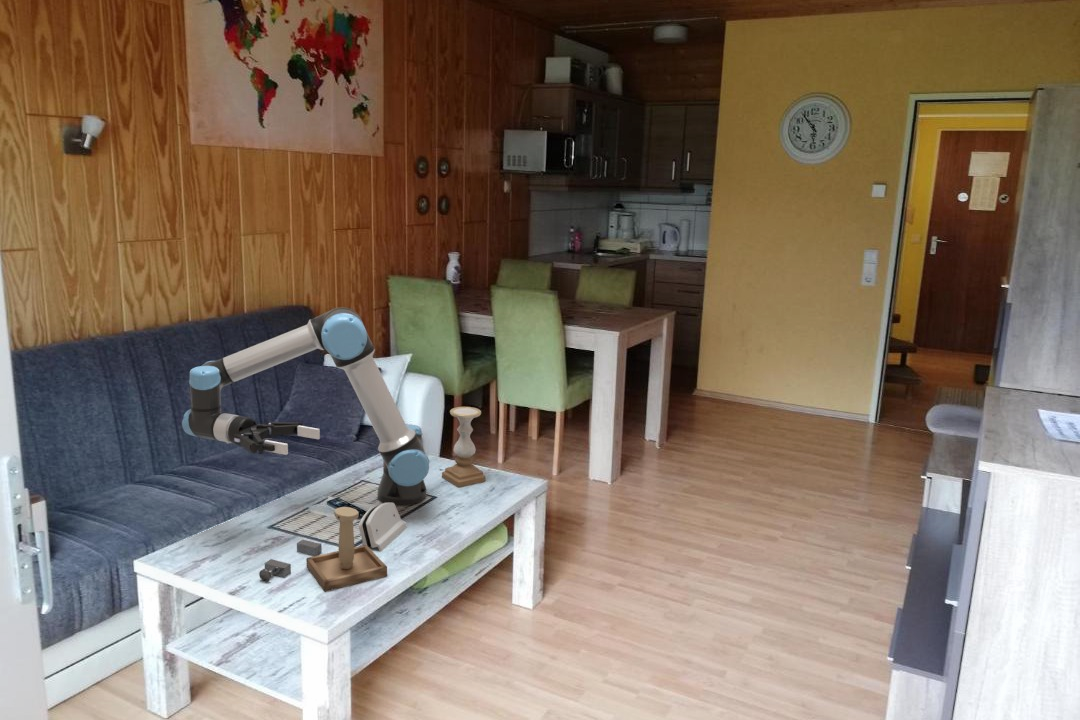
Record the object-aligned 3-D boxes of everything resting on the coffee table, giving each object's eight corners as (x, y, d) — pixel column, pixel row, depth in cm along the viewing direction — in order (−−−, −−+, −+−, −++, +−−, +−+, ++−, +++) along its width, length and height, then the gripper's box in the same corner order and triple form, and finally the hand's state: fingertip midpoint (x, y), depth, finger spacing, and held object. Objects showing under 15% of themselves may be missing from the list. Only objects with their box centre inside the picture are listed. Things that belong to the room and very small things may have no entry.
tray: (366, 553, 211) (366, 544, 211) (387, 576, 200) (387, 566, 200) (306, 567, 203) (306, 558, 202) (324, 591, 191) (324, 582, 191)
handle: (347, 574, 197) (347, 518, 194) (330, 566, 201) (330, 510, 198) (362, 567, 201) (362, 512, 198) (345, 559, 205) (345, 505, 202)
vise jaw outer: (271, 568, 201) (271, 556, 201) (290, 573, 199) (290, 561, 199) (254, 578, 196) (254, 567, 195) (274, 584, 194) (273, 572, 193)
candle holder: (441, 477, 267) (442, 408, 261) (468, 471, 273) (470, 404, 268) (458, 488, 258) (460, 417, 253) (486, 481, 265) (488, 412, 260)
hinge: (380, 552, 213) (369, 517, 211) (365, 554, 214) (354, 520, 213) (407, 527, 228) (397, 494, 227) (393, 529, 230) (382, 497, 229)
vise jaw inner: (302, 548, 213) (302, 539, 212) (321, 552, 211) (321, 544, 210) (296, 551, 210) (296, 543, 210) (315, 556, 208) (315, 547, 208)
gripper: (267, 430, 225) (331, 441, 218) (203, 457, 202) (272, 470, 195) (266, 404, 223) (331, 415, 217) (201, 429, 200) (271, 441, 194)
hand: (303, 441), depth 206 cm, fingers open, 13 cm apart
